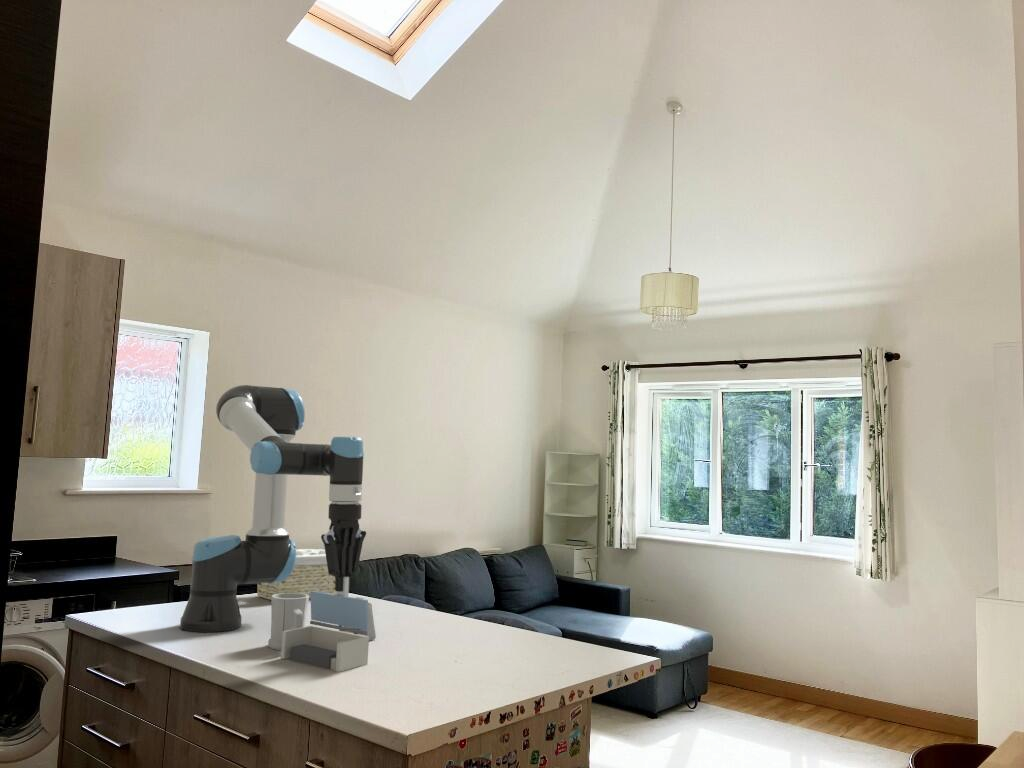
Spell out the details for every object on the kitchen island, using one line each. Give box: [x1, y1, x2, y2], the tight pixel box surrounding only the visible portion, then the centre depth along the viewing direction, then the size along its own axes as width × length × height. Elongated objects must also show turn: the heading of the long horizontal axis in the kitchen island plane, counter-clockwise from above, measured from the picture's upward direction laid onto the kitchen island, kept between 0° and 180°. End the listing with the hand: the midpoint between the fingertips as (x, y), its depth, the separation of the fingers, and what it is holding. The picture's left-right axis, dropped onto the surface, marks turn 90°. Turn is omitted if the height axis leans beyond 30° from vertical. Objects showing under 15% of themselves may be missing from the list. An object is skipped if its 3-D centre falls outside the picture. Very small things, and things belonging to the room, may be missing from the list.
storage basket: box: [256, 548, 336, 601], centre depth 261 cm, size 24×16×15 cm
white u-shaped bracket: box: [280, 624, 370, 673], centre depth 180 cm, size 18×9×6 cm, turn 58°
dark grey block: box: [289, 644, 337, 671], centre depth 178 cm, size 13×4×3 cm, turn 58°
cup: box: [267, 593, 309, 651], centre depth 193 cm, size 10×9×12 cm
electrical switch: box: [338, 602, 377, 642], centre depth 202 cm, size 9×5×9 cm, turn 141°
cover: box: [309, 591, 369, 635], centre depth 184 cm, size 18×8×2 cm
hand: (341, 605), depth 185 cm, fingers closed
